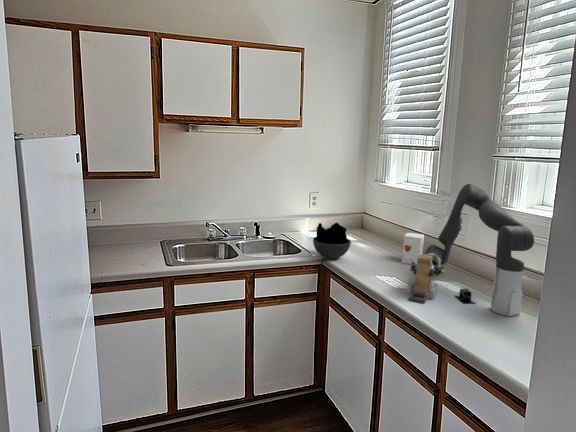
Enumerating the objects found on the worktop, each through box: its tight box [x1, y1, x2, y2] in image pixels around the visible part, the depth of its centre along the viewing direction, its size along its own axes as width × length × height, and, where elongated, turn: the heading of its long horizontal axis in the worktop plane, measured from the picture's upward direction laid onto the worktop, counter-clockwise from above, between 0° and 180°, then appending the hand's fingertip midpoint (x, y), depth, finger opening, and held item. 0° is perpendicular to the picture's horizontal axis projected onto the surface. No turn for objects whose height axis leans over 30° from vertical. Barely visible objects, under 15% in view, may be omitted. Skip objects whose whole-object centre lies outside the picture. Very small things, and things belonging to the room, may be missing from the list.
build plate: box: [453, 288, 477, 305], centre depth 173 cm, size 12×7×5 cm, turn 2°
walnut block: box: [414, 254, 433, 292], centre depth 175 cm, size 5×5×14 cm
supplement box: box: [401, 232, 425, 265], centre depth 222 cm, size 9×9×15 cm
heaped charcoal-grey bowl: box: [312, 222, 352, 260], centre depth 224 cm, size 20×20×19 cm
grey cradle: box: [406, 279, 439, 301], centre depth 177 cm, size 9×10×4 cm
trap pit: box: [408, 293, 428, 305], centre depth 171 cm, size 6×6×2 cm
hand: (422, 273), depth 172 cm, fingers closed on walnut block, 5 cm apart
